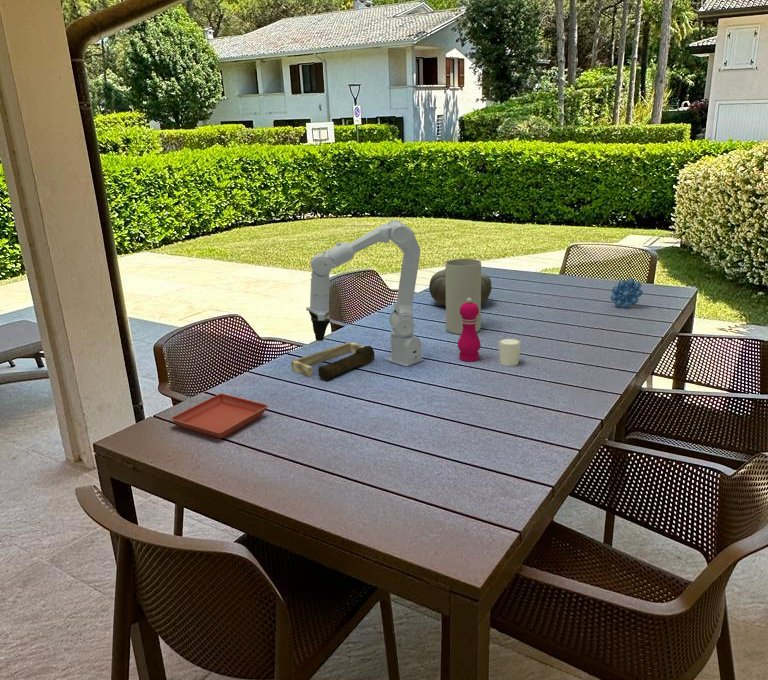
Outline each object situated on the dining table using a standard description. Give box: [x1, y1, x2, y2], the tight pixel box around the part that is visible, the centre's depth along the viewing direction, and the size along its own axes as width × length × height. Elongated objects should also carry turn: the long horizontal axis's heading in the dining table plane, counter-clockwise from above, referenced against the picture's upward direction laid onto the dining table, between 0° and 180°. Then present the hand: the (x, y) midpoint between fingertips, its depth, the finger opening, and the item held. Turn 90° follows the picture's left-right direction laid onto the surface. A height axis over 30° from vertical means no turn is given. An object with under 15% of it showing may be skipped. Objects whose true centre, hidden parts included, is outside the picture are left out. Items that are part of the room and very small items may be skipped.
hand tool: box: [317, 345, 376, 382], centre depth 201 cm, size 23×5×6 cm, turn 136°
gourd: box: [428, 268, 493, 307], centre depth 267 cm, size 25×25×17 cm
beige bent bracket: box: [290, 341, 365, 378], centre depth 208 cm, size 9×24×3 cm, turn 133°
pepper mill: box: [457, 298, 481, 363], centre depth 205 cm, size 7×7×20 cm
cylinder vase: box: [444, 258, 482, 335], centre depth 233 cm, size 12×12×25 cm
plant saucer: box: [170, 393, 269, 439], centre depth 169 cm, size 18×18×3 cm
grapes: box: [610, 278, 644, 309], centre depth 254 cm, size 12×7×12 cm, turn 68°
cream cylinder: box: [498, 338, 522, 367], centre depth 201 cm, size 7×7×7 cm
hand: (318, 336), depth 201 cm, fingers open, 7 cm apart
